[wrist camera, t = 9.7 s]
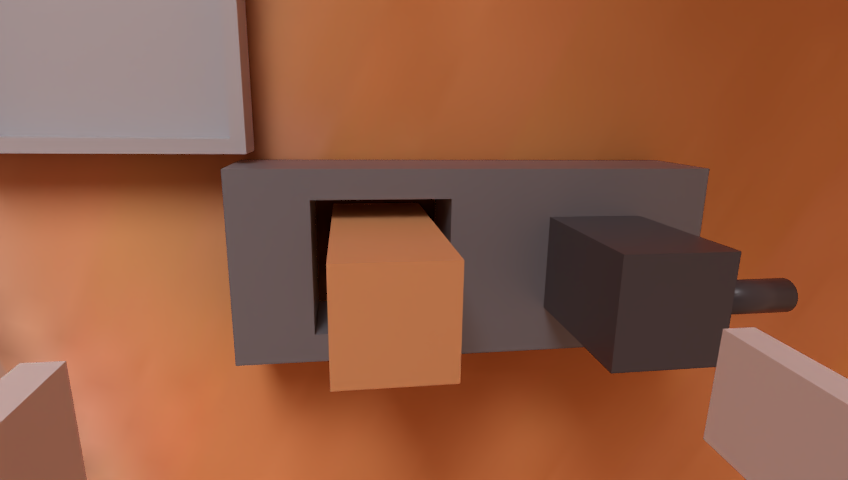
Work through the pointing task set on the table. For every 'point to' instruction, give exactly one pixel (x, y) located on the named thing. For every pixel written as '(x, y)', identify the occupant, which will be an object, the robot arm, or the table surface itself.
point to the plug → (392, 299)
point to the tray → (125, 77)
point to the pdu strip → (505, 256)
